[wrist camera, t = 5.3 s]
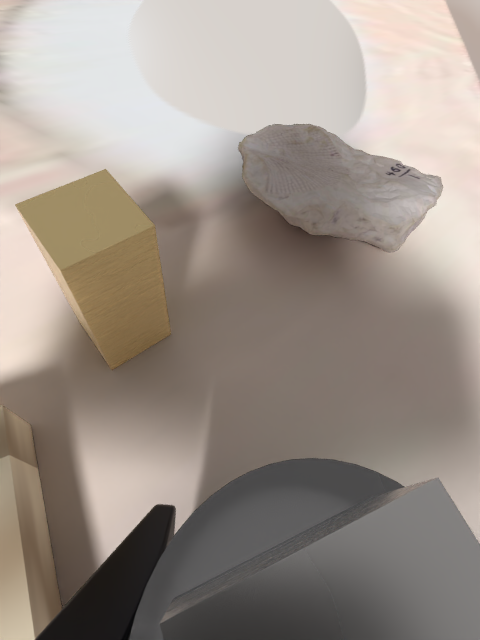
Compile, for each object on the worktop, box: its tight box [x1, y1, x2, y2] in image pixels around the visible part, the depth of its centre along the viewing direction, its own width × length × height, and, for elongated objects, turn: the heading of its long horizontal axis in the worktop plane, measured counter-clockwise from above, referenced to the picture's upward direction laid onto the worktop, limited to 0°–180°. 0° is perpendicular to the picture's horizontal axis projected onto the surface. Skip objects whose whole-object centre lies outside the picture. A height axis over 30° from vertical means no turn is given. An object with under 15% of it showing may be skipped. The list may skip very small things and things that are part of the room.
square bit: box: [15, 169, 171, 370], centre depth 15 cm, size 3×3×7 cm
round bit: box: [129, 458, 480, 640], centre depth 8 cm, size 4×4×12 cm
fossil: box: [238, 124, 443, 253], centre depth 20 cm, size 9×6×10 cm
